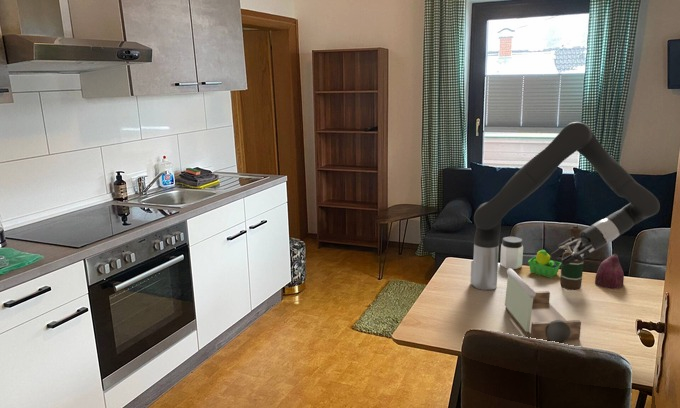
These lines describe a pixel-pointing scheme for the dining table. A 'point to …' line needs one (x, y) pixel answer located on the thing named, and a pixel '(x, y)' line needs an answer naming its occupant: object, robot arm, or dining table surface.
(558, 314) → the cart bed
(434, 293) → the dining table surface
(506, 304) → the tailgate
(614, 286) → the vegetable
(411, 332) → the dining table surface
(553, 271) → the fruit basket
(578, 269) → the beer bottle
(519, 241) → the jar
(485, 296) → the dining table surface
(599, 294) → the dining table surface
